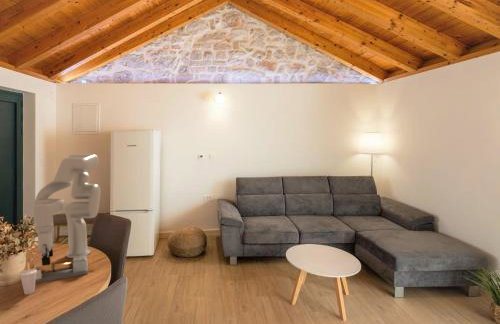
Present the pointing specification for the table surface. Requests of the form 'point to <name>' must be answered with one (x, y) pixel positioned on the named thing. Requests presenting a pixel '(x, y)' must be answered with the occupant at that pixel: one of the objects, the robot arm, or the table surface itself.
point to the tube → (55, 267)
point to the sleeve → (79, 264)
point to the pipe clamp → (33, 265)
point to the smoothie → (28, 280)
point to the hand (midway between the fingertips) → (47, 260)
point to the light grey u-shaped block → (38, 272)
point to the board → (59, 275)
